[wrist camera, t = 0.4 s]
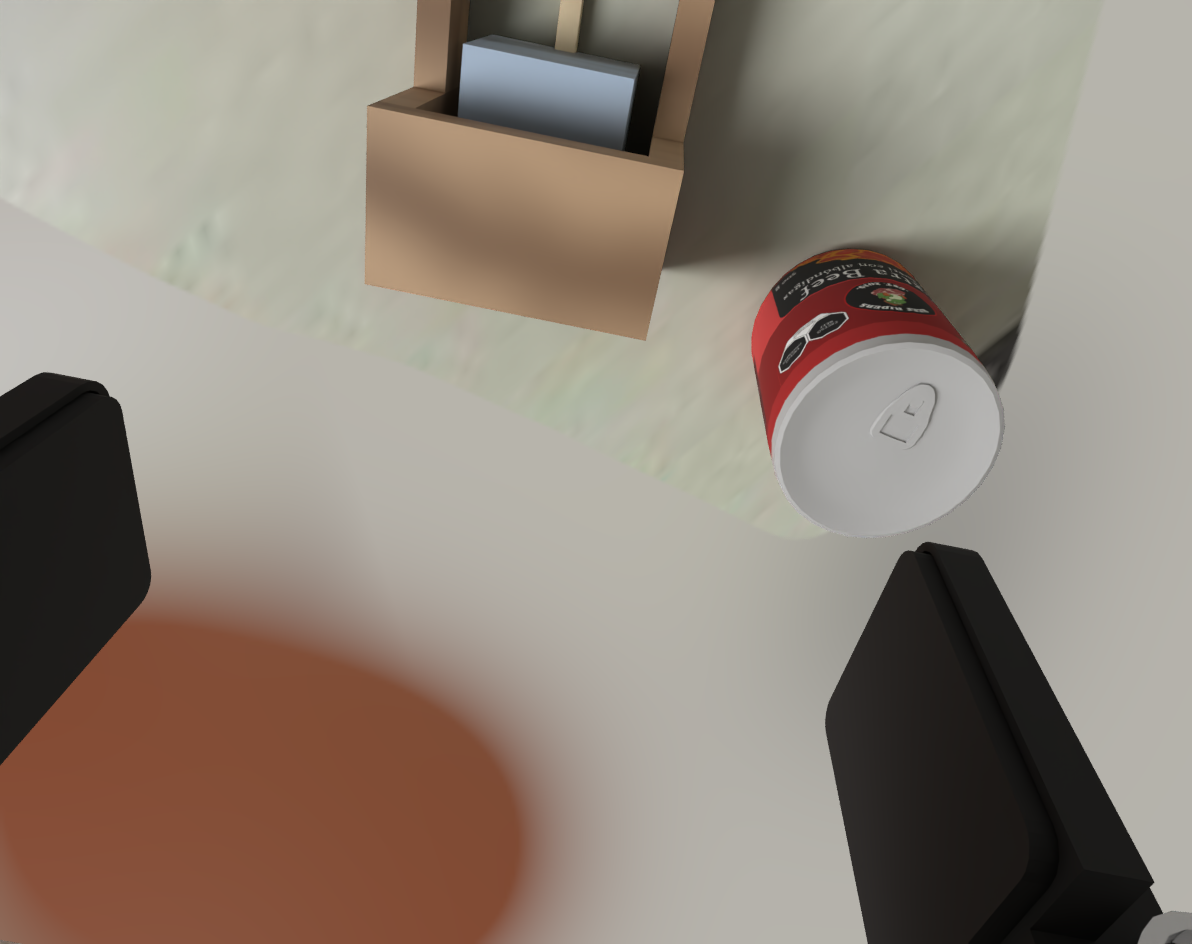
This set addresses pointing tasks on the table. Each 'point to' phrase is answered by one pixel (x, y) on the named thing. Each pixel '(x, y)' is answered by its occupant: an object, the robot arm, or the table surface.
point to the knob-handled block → (549, 86)
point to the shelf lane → (522, 194)
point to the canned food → (870, 397)
